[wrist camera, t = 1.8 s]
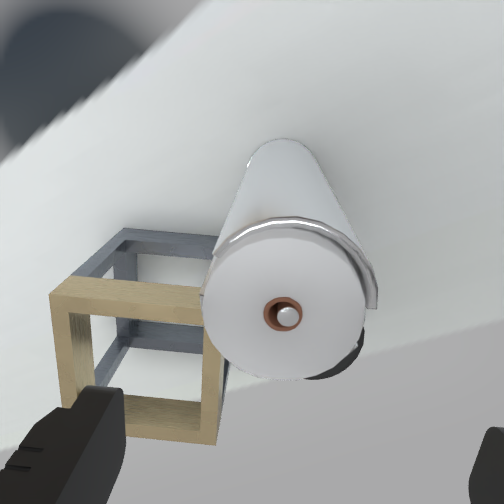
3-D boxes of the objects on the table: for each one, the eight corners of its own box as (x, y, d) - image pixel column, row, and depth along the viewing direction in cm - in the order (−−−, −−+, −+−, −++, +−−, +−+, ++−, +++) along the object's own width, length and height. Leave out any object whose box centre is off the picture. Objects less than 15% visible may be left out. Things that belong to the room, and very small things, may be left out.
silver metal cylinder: (278, 224, 39) (276, 422, 16) (231, 171, 37) (153, 305, 14) (333, 179, 37) (424, 329, 14) (287, 122, 36) (302, 183, 12)
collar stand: (241, 238, 40) (223, 310, 27) (234, 340, 44) (215, 445, 31) (123, 228, 40) (48, 294, 27) (127, 329, 44) (64, 429, 31)
